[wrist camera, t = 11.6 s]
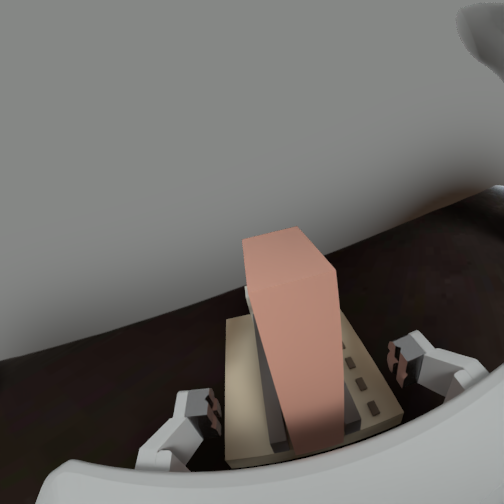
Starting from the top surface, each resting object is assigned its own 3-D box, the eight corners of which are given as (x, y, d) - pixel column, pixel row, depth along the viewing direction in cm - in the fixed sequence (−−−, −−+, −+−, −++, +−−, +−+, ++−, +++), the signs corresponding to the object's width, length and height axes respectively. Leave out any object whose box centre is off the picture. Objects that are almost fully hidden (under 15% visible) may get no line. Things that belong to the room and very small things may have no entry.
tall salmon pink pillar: (320, 380, 18) (297, 226, 14) (343, 442, 13) (335, 269, 9) (282, 390, 19) (241, 239, 15) (295, 455, 13) (247, 292, 9)
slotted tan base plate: (331, 304, 30) (326, 265, 29) (400, 423, 14) (412, 379, 12) (230, 329, 31) (217, 293, 29) (231, 468, 14) (206, 435, 12)
